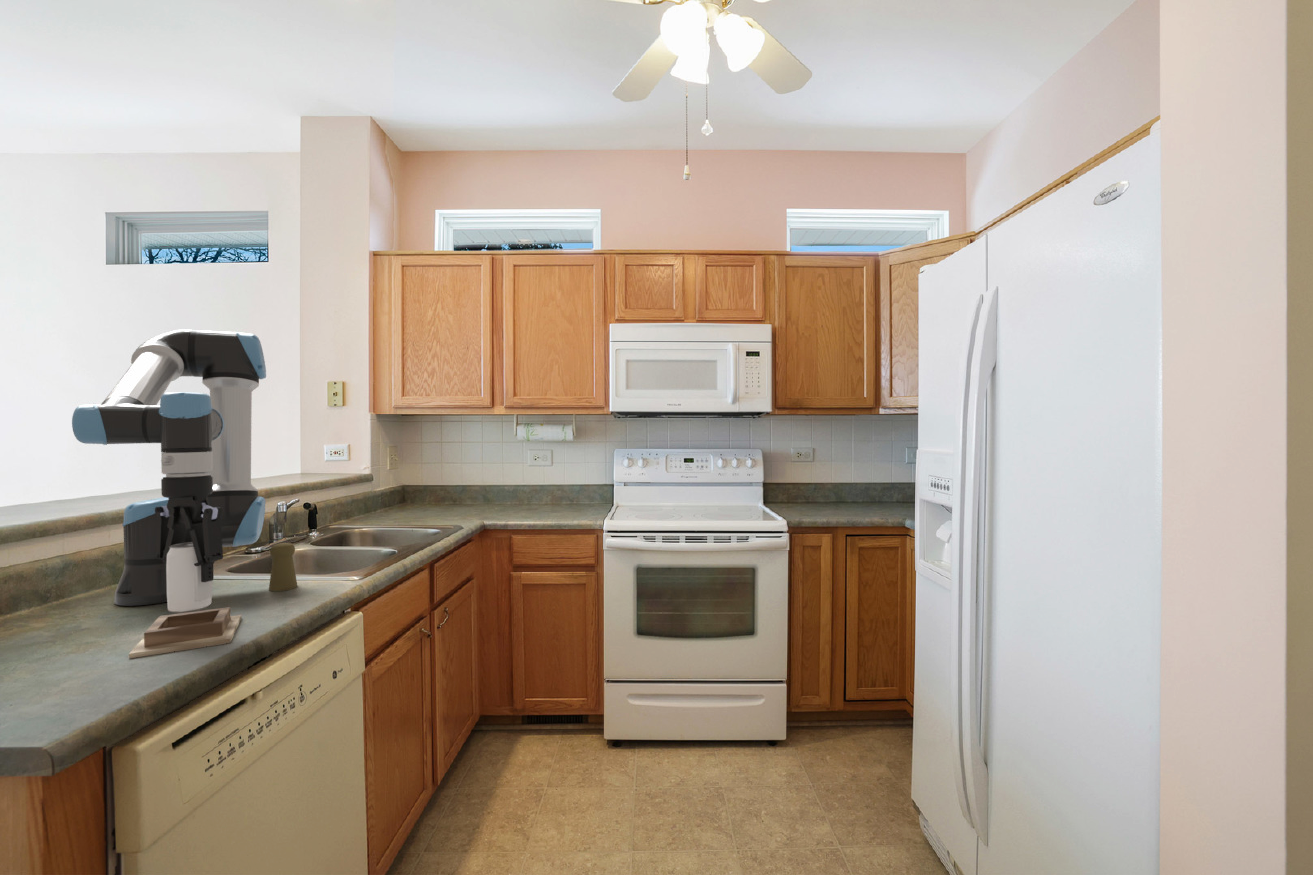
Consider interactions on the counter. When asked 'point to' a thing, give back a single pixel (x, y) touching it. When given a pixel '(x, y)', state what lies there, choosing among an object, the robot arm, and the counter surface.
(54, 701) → the counter surface
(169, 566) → the can
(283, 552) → the cork
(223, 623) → the keeper board
